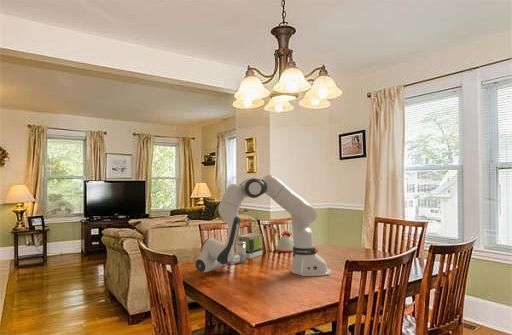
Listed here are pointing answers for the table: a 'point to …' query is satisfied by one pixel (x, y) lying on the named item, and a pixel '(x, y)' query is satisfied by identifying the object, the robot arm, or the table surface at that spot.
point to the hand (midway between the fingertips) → (230, 255)
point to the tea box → (252, 244)
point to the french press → (241, 251)
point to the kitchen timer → (285, 243)
